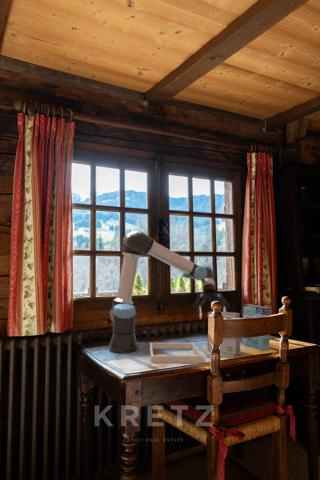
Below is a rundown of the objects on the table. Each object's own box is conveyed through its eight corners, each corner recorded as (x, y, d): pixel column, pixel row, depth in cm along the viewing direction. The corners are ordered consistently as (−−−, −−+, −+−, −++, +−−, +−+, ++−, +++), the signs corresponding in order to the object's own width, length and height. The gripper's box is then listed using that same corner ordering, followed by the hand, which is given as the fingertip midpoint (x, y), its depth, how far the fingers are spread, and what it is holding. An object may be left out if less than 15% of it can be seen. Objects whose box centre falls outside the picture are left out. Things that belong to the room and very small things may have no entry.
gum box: (242, 343, 212) (242, 304, 214) (249, 342, 214) (249, 303, 216) (262, 351, 194) (262, 308, 196) (270, 350, 196) (270, 307, 197)
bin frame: (151, 362, 168) (151, 356, 168) (149, 348, 196) (149, 342, 196) (202, 362, 169) (202, 356, 170) (193, 348, 197) (193, 343, 198)
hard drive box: (240, 352, 187) (240, 313, 189) (236, 355, 181) (236, 314, 182) (212, 348, 195) (212, 310, 196) (206, 351, 188) (207, 312, 189)
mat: (206, 357, 180) (206, 355, 180) (200, 347, 200) (200, 345, 200) (234, 357, 180) (234, 355, 180) (225, 347, 200) (225, 346, 200)
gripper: (228, 292, 215) (234, 321, 199) (187, 291, 214) (189, 321, 198) (230, 283, 210) (237, 313, 194) (188, 283, 209) (191, 313, 193)
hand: (213, 317), depth 196 cm, fingers open, 13 cm apart
